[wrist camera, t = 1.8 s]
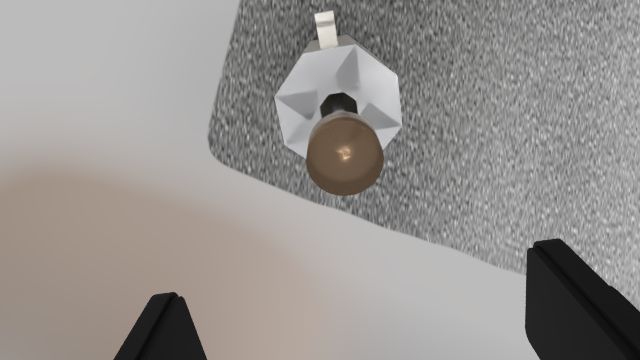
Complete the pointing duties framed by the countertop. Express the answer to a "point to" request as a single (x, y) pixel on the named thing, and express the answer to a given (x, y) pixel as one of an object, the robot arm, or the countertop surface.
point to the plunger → (344, 151)
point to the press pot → (336, 87)
